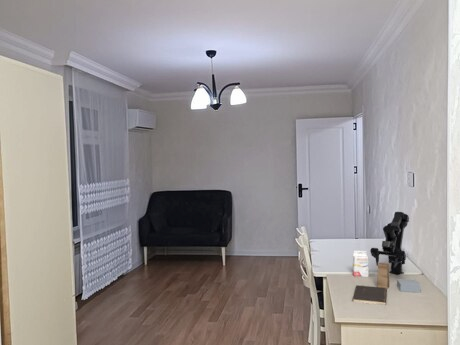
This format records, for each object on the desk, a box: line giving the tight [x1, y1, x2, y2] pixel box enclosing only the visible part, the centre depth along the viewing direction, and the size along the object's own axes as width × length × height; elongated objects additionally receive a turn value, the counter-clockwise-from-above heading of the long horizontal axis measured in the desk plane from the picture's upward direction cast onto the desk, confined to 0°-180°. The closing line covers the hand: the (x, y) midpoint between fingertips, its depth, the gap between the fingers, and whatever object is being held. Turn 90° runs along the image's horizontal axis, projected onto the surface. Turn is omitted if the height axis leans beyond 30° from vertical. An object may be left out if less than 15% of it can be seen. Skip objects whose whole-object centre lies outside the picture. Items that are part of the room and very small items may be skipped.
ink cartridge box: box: [352, 250, 370, 278], centre depth 277 cm, size 9×5×15 cm, turn 84°
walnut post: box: [377, 262, 390, 290], centre depth 254 cm, size 5×5×13 cm
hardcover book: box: [352, 285, 388, 306], centre depth 239 cm, size 16×23×2 cm
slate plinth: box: [396, 278, 421, 293], centre depth 250 cm, size 10×10×4 cm
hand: (385, 266), depth 257 cm, fingers open, 9 cm apart
